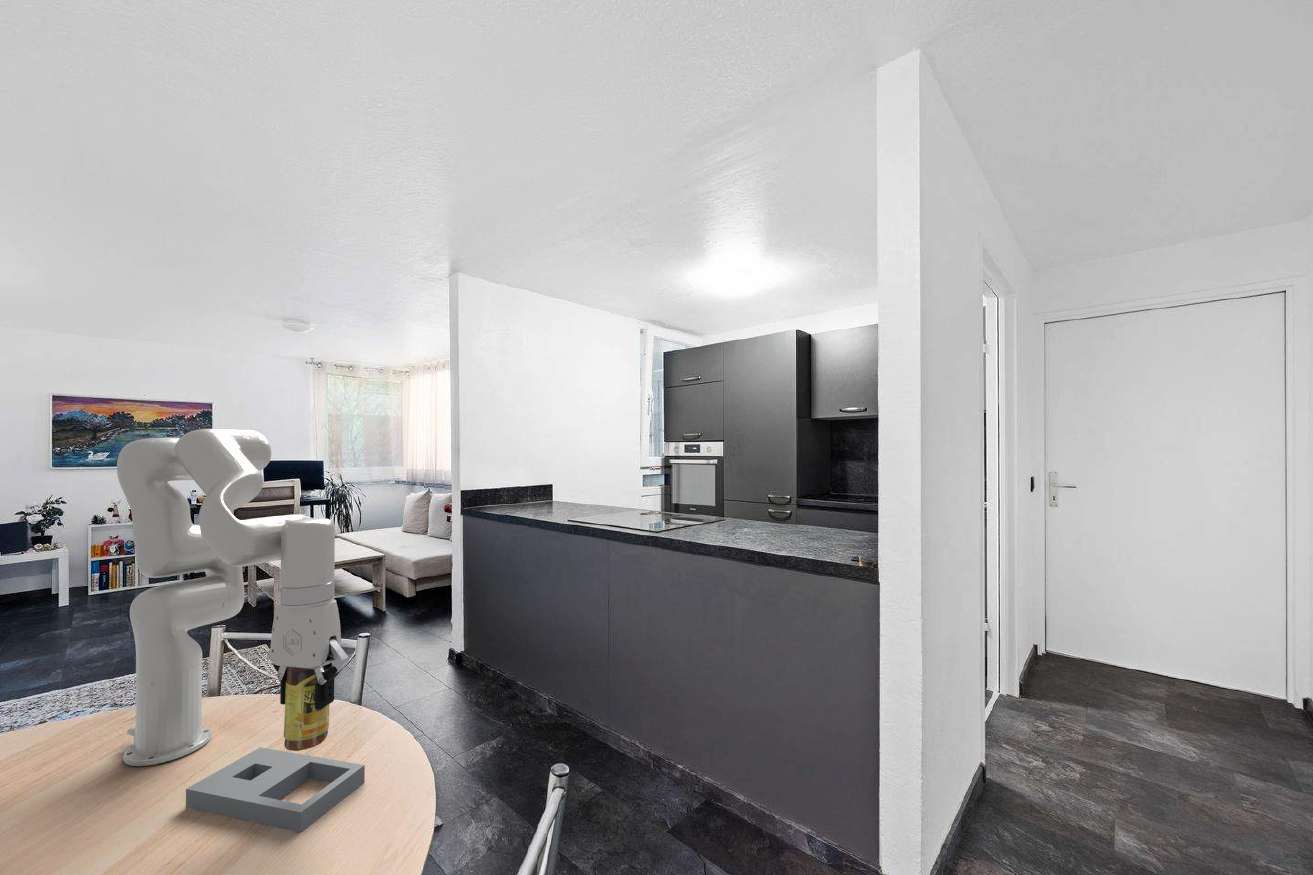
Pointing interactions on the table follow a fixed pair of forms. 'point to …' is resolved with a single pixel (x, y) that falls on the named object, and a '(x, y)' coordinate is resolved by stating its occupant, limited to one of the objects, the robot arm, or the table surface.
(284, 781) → the caddy
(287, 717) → the sauce bottle
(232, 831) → the table surface
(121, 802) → the table surface
